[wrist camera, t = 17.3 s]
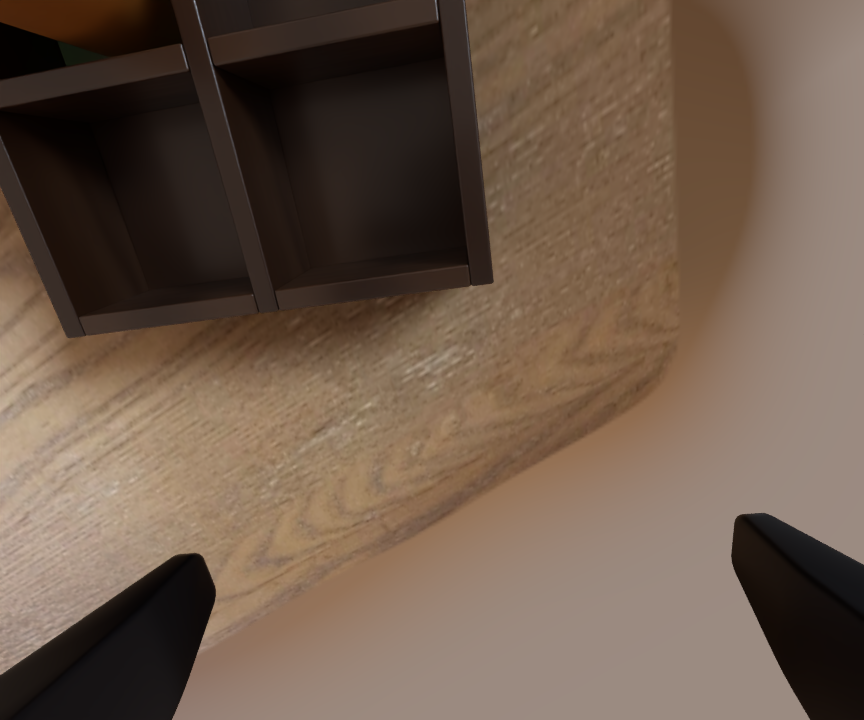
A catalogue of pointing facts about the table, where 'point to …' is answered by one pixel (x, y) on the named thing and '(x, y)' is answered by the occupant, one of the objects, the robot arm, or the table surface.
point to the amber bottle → (97, 23)
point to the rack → (247, 162)
